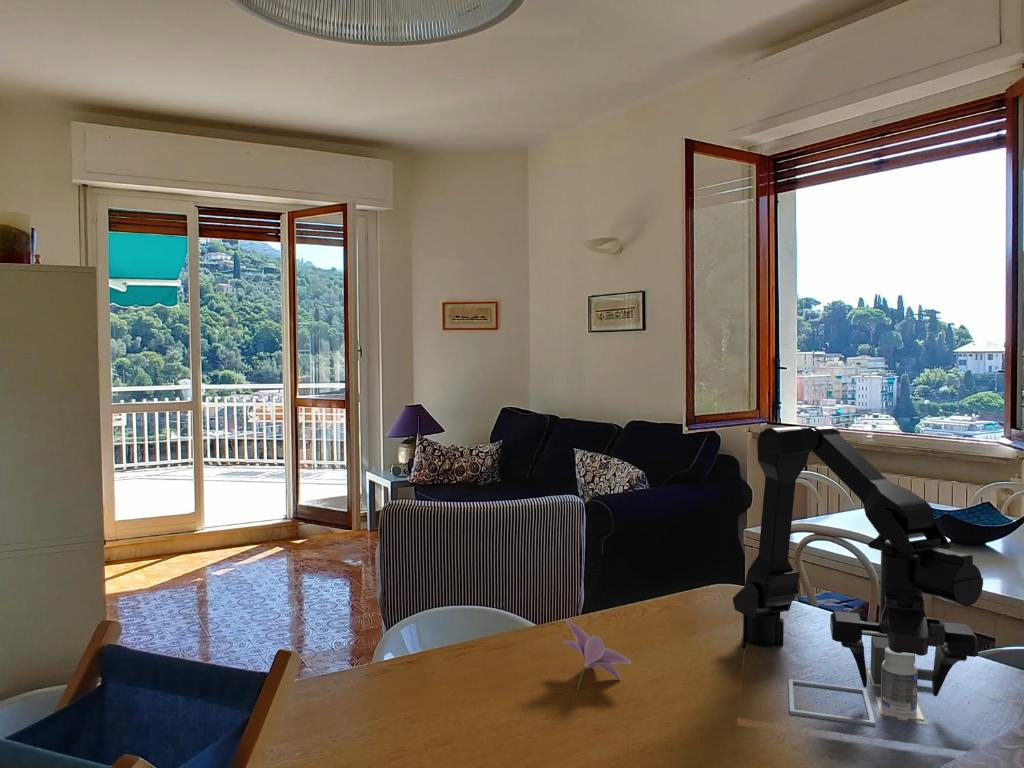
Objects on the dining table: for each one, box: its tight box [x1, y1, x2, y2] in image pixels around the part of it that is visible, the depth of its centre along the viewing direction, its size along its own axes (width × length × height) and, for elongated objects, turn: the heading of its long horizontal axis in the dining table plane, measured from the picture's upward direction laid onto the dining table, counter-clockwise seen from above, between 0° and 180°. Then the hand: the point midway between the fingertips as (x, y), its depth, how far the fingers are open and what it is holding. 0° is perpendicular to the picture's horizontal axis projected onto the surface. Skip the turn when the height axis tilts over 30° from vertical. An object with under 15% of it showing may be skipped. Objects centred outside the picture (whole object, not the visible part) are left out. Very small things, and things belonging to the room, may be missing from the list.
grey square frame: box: [788, 678, 876, 727], centre depth 115 cm, size 11×11×1 cm
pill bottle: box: [881, 647, 919, 714], centre depth 113 cm, size 5×5×8 cm
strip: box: [866, 667, 930, 726], centre depth 118 cm, size 6×18×1 cm, turn 161°
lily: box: [562, 619, 633, 691], centre depth 124 cm, size 12×12×10 cm
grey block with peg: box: [870, 636, 933, 685], centre depth 122 cm, size 9×5×6 cm, turn 71°
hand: (899, 690), depth 113 cm, fingers open, 9 cm apart
